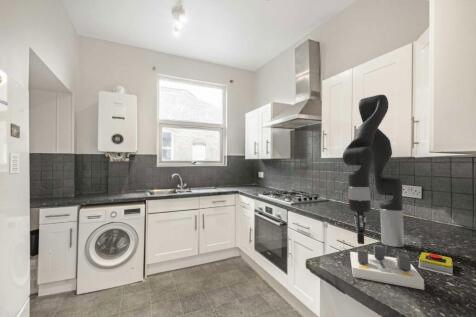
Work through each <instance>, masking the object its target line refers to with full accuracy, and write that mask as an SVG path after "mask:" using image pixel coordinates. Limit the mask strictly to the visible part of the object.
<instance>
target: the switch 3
mask: <svg viewBox="0 0 476 317" xmlns="http://www.w3.org/2000/svg"><path fill="white" fill-rule="evenodd" d="M396 258H397V265H398V267H399V268H400V269H404V270H411V264H412V263H411V257H410V255H409V254H405V253H396Z"/></svg>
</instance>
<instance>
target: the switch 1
mask: <svg viewBox="0 0 476 317" xmlns="http://www.w3.org/2000/svg"><path fill="white" fill-rule="evenodd" d="M356 252H357V253H358V262H359V263H366V264H368V254H369V253H368V249H367V248H366V249H365V248H360V247H359V248H357V251H356Z"/></svg>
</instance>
